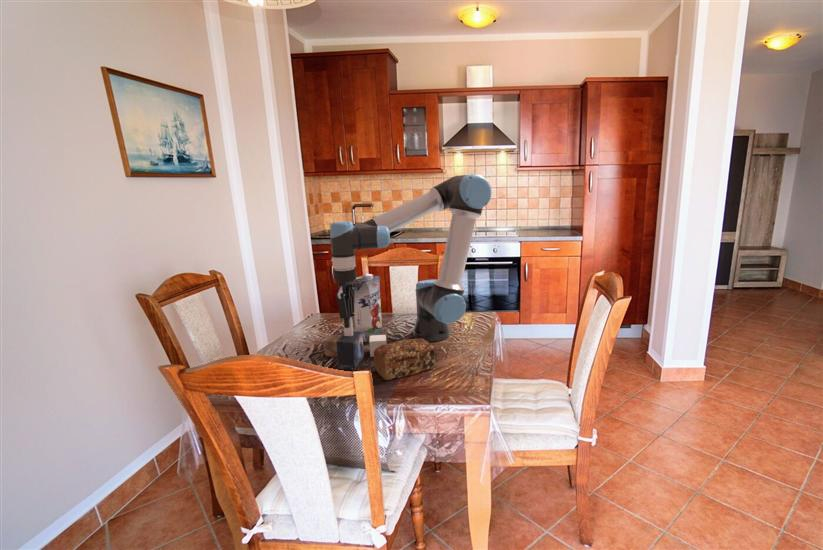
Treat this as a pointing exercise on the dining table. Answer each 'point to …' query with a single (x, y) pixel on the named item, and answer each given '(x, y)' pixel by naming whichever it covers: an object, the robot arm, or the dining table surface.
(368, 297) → the juice carton
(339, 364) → the small box
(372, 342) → the cream block
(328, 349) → the walnut block
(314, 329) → the dining table surface
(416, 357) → the bread
